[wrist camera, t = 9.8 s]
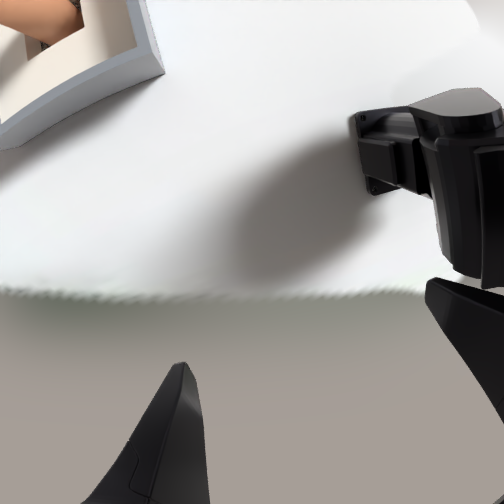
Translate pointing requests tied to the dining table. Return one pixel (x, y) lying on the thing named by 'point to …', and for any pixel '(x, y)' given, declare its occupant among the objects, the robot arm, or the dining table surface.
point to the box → (73, 67)
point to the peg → (42, 18)
